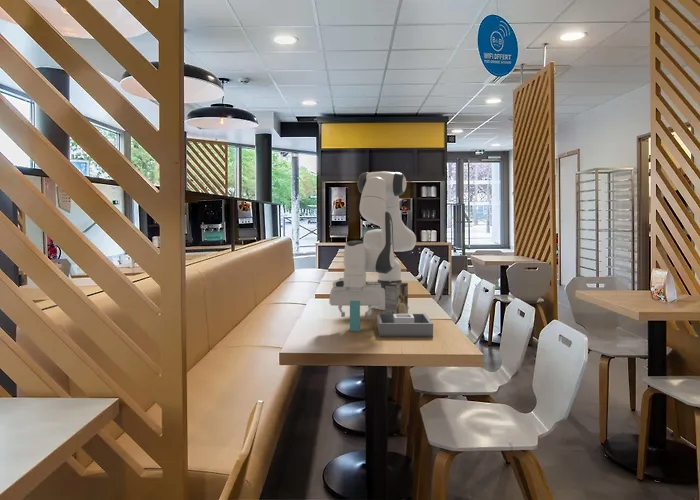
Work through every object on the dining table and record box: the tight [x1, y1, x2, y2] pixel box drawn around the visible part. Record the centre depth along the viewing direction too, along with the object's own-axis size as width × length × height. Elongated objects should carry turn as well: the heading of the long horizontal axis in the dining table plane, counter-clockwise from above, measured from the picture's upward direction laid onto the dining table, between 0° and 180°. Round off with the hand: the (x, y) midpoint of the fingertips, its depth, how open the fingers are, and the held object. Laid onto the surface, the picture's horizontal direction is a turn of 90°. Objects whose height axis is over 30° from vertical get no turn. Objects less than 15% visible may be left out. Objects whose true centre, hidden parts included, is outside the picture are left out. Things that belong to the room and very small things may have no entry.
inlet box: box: [376, 313, 434, 338], centre depth 192 cm, size 20×20×6 cm
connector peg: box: [349, 301, 361, 332], centre depth 195 cm, size 4×4×12 cm
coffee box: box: [384, 282, 409, 314], centre depth 213 cm, size 9×6×16 cm
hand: (355, 316), depth 194 cm, fingers open, 8 cm apart
